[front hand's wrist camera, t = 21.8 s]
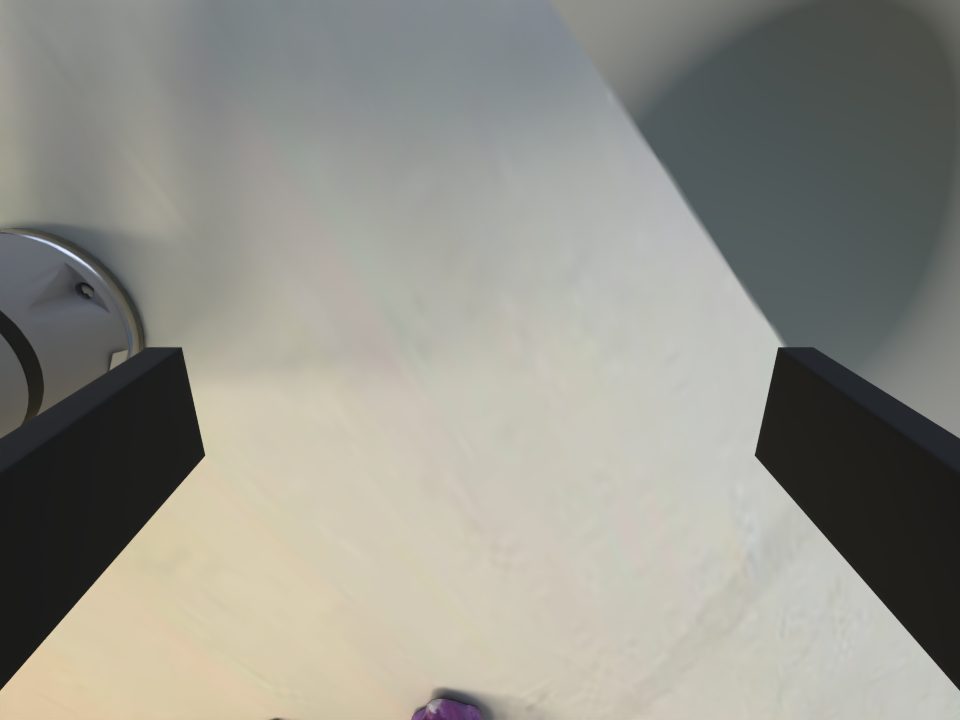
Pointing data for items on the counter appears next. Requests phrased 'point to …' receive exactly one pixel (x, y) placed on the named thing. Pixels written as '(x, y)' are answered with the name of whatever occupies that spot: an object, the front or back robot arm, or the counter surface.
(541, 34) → the counter surface
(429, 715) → the figurine
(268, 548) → the counter surface
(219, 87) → the counter surface
